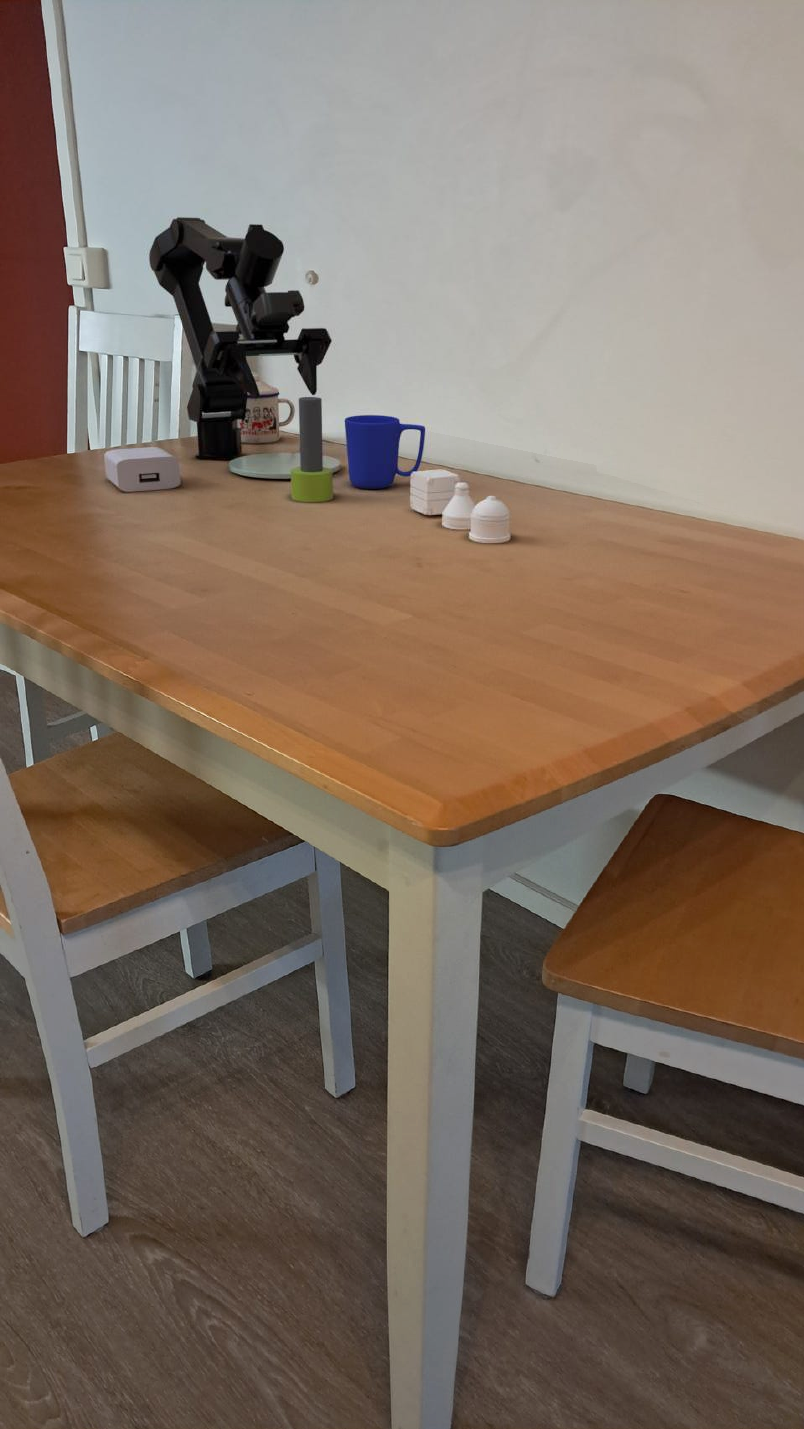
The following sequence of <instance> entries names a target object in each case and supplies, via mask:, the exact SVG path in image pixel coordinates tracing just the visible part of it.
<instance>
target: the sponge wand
mask: <svg viewBox="0 0 804 1429" xmlns="http://www.w3.org/2000/svg"><path fill="white" fill-rule="evenodd" d="M322 401H323V400H322V397H319V396H318V397H317V396H303V397H299V398H298V422H299V423H298V425H299V426H298V427H299V428H298V429H299V453H300V467H297V468H293V469H291V479H290V489H291V490H290V491H291V492H290V493H291V499H292V500H293V501H297V502H302V503H322V502H323V503H324V502H328V501H330V500H333V499H334V484H333V483H334V480H333V478H334V476H333V474H334V473H333V471H332V469H330V468H327V467H323V456H324V455H323V454H324V453H323V410H322V409H323V406H322V405H323V404H322Z"/></svg>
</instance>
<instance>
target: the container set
mask: <svg viewBox="0 0 804 1429" xmlns="http://www.w3.org/2000/svg"><path fill="white" fill-rule="evenodd" d="M460 481H461V478H460V476H459V474H457V473H454V472H451V471H449V470H447V469H441V468H440V469H429V470H417V471H416V472H412V474H411V476H410V488H409V489H410V492H409V493H410V494H409V496H410V497H409V502H410V503H409V505H410V508H411V509H412V510H414V511H416V512H418V513H421V514H422V515H424V516H435V515H442V516H441V521H442V522H441V526H442V527H443V528H446V529H450V530H459V531H460V530H463V531H464V530H465V531H467V530H470V531H469V533H468V540H471V541H473V542H476V543H480V544H481V543H482V544H502V543H507V542H509V541H510V540H511V533H510V526H511V524H510V523H511V514H510V511H509V508H508V507H507V505H506V504H505V503H504V502H502V501H501V500H499V499H497V498H496V496H495V495H488V496H487V497H486V498H485V499H483V500H481V501H479V502H477V504H475V503H474V501H473V500H472V498H471V496H470V495H469V492H470V489H469V488H470V486H469V484H468V483H467V482H460Z"/></svg>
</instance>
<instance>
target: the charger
mask: <svg viewBox="0 0 804 1429" xmlns="http://www.w3.org/2000/svg"><path fill="white" fill-rule="evenodd" d="M103 459H104V460H103V461H104V470H105V477H106V479H108V480H109V482H111V483H112V484H113V485H114V486H116V487H117V488H118V489H119V490H120V491H122V492H126V493H132V492H133V493H134V492H145V491H156V490H169V489H170V490H171V489H174V488H177V487H179V486H180V484H181V471H180V460H179V459H178V458H177V457H175V456H174V455H172V454H170V453H168V452H167V451H166V450H164V449H163V448H161V447H157V446H150V447H149V446H147V447H135V448H134V447H132V448H116V449H110V450H108V451H106V452H105V453H104V455H103Z"/></svg>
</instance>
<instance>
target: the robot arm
mask: <svg viewBox="0 0 804 1429" xmlns="http://www.w3.org/2000/svg"><path fill="white" fill-rule="evenodd" d="M284 251H285V246H284V243H283V241H282V240H281V239H280V238H279V237H278V236H277V235H275V234H273V233H272V232H270V231H268V230H266V229H264V226H263V224H253V223H251V224H249V225H248V228H247V232H246V234H245V237H244V238H243V237H229V236H227V235H225V234H223V233H222V232H220V231H219V230H217V229H215V228H214V227H212V226H210V225H209V224H207V223H206V221H205V220H204V219H201V218H200V217H185V216H184V217H182V216H181V217H179V216H178V217H176V218H173V219H172V221H171V223H170V225H169V227H167V228H166V229H165V230H163V231H162V232H161V233H159V234H158V235H156V236H155V237H154V239H153V242H152V244H151V248H150V249H149V254H148V255H149V256H148V258H149V259H148V260H149V266H150V268H151V270H152V272H153V273H154V275H155V277H156V280H157V283H158V284H159V286H160V287H162V288H163V290H165V291H166V292H167V293H168V294H170V295H171V296H172V297H173V301H174V303H175V307H176V309H177V312H178V315H179V319H180V323H181V325H182V328H183V332H184V334H185V337H186V338H185V339H186V341H187V344H188V347H189V350H190V353H191V356H192V359H193V363H194V365H195V369H196V371H195V374H194V377H193V381H192V385H191V387H192V390H191V392H190V396H189V398H188V401H187V402H188V403H187V406H186V410H187V417H188V420H190V421H192V422H196V431H197V432H196V435H197V450H198V453H196V454H195V457H194V458H195V459H209V460H230V461H231V460H233V459H236V458H238V457H239V456H240V455H241V454H243V450H242V447H243V446H242V443H241V429H240V428H238V426H237V420H238V419H241V420H245V415H246V406H247V396H248V393H249V394H250V395H251V396H253V397H254V398H255V399H258V397H259V390H258V387H257V384H256V381H255V379H254V377H253V375H254V374H253V372H252V370H251V367H250V365H249V362H248V359H247V357H275V356H279V357H280V356H293V358H294V361H295V363H296V364H298V365H297V368H296V369H297V371H298V374H299V375H300V377H301V379H302V380H303V382H304V385H305V386H306V388H307V390H308V391H309V393H310V394H311V395H312V396H315V395H316V394H317V391H318V383H317V382H318V374H317V372H318V371H317V370H318V368H317V366H319V365H322V364H323V361H324V359H325V356H326V355H327V352H328V351H329V348H330V346H331V343H332V342H333V340H332V338H331V335H330V333H329V331H328V330H327V328H326V327H325V328H324V327H306V328H305V327H303V328H301V330H300V332H299V334H298V336H297V339H286V338H285V334H288V332H289V330H290V325H289V321H290V320H291V319H292V318H295V317H299V316H300V315H301V314H302V313H303V312H304V311H305V303H304V298H303V296H302V293H301V292H300V290H298V289H297V290H294V289H293V290H287V291H277V292H274V291H273V292H271V291H270V292H267V290H266V287H268V286H270V285H272V284H273V282H274V279H275V276H276V273H277V271H278V268H279V266H280V263H281V260H282V258H283V255H284ZM204 265H205V269H206V271H207V272H208V273H209V274H210V276H211V277H212V278H213V279H214V280H217V281H225V280H227V282H226V285H225V289H224V292H225V293H226V294H225V298H224V306H225V307H226V308H231V310H232V312H233V314H234V317H235V320H236V322H237V324H236V327H235V330H215V329H214V326H213V323H212V320H211V317H210V314H209V311H208V310H209V309H208V308H207V305H206V301H205V298H204V296H203V292H202V289H201V286H200V281H201V278H202V274H203V271H204ZM240 335H242V337H243V339H240V338H241V336H240ZM247 392H248V393H247Z"/></svg>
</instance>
